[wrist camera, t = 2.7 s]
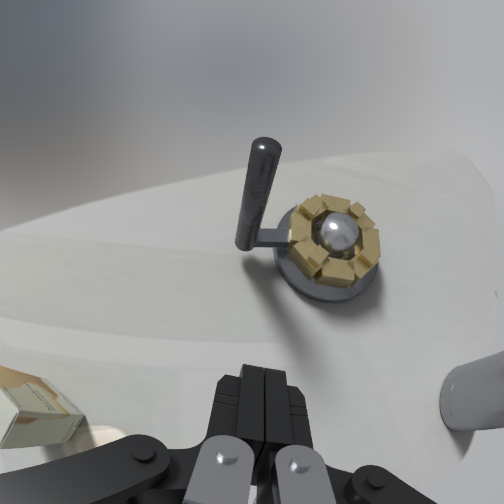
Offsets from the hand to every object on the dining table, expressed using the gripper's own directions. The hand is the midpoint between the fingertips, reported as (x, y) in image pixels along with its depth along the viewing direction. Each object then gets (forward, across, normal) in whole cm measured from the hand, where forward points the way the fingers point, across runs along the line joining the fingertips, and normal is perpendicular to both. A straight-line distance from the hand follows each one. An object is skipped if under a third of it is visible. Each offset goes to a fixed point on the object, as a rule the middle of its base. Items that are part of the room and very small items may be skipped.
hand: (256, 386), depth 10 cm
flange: (+27, -8, 0) cm, 28 cm away
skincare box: (+10, +18, +19) cm, 27 cm away
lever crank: (+26, -5, -1) cm, 26 cm away
